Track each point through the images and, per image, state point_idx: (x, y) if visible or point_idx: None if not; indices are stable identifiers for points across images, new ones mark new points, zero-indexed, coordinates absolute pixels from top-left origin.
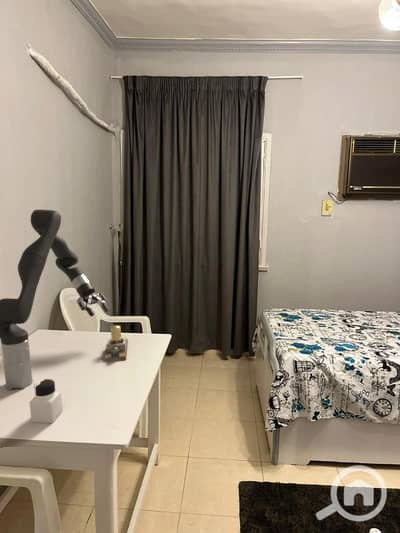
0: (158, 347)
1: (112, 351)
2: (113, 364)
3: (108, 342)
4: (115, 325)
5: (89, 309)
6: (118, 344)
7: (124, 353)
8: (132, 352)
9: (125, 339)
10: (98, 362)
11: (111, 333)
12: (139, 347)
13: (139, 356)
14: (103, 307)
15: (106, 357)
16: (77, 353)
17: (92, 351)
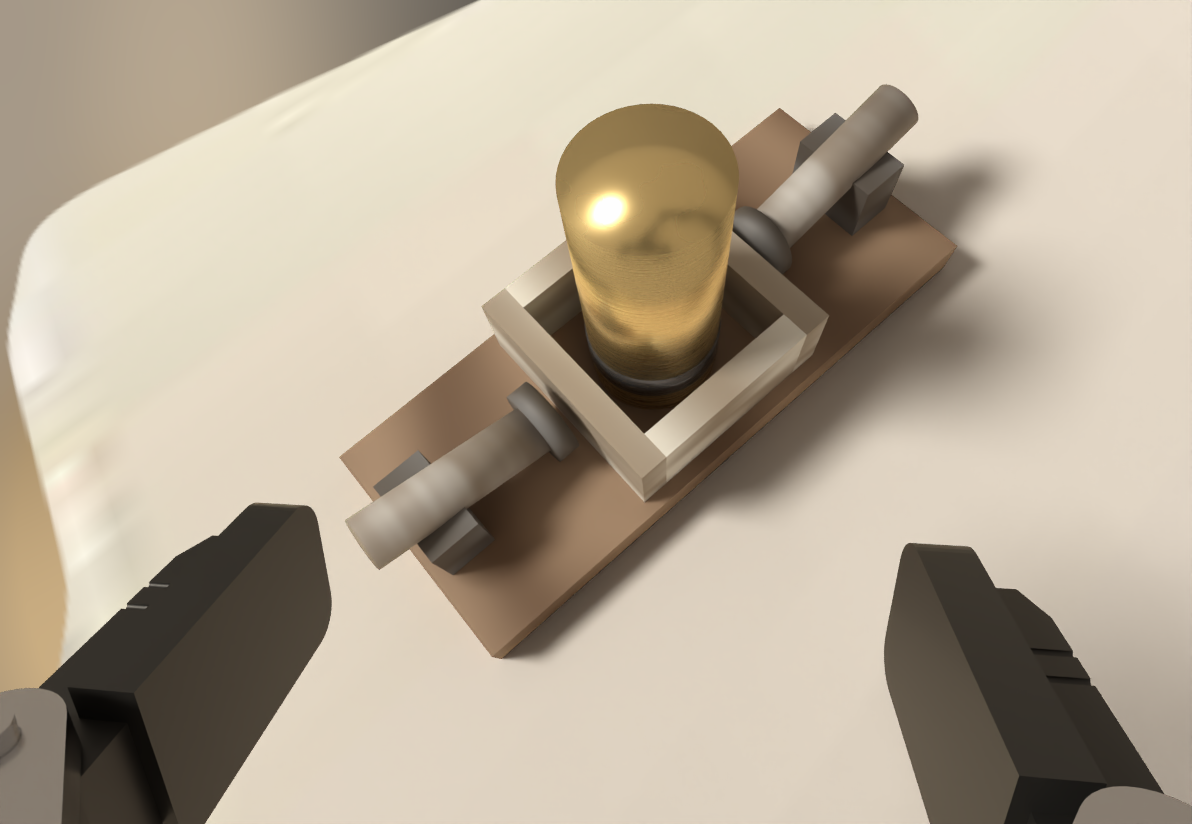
0: (370, 93)
1: (893, 159)
2: (935, 150)
3: (743, 371)
4: (589, 228)
5: (1065, 757)
6: None
7: None
8: None
9: (535, 265)
10: (1011, 301)
11: (727, 257)
12: (453, 234)
13: (643, 90)
14: (228, 736)
15: (936, 239)
16: None
17: (847, 621)
